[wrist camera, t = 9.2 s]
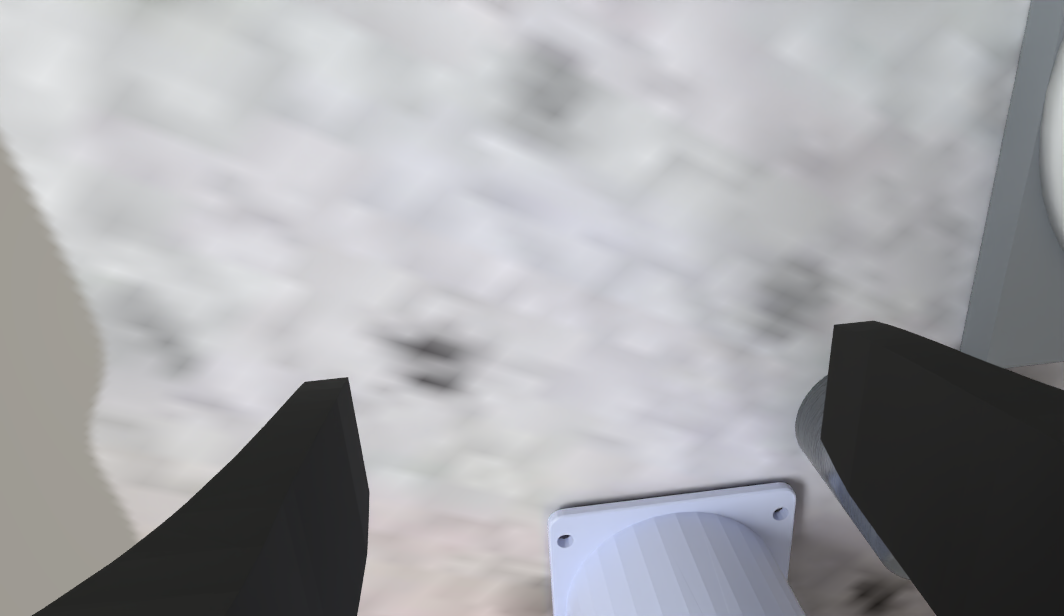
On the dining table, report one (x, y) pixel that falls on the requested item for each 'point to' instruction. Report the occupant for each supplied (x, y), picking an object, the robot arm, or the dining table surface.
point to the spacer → (816, 453)
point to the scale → (1026, 213)
